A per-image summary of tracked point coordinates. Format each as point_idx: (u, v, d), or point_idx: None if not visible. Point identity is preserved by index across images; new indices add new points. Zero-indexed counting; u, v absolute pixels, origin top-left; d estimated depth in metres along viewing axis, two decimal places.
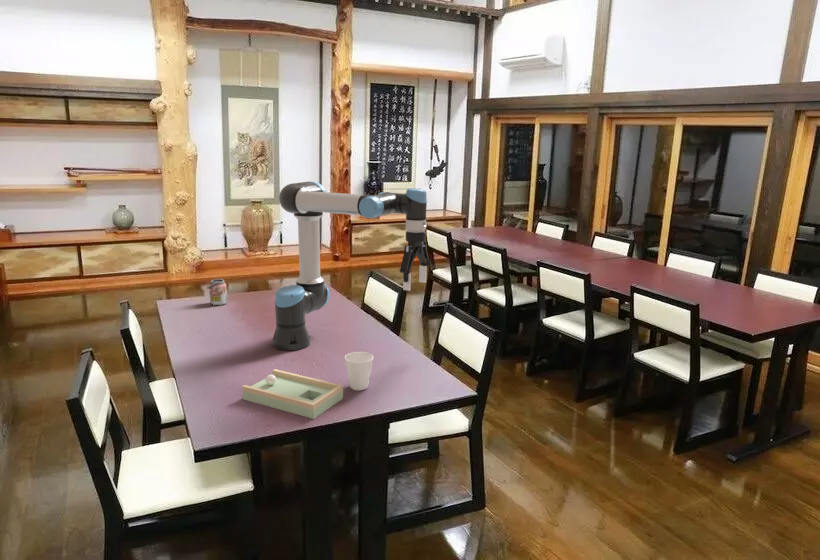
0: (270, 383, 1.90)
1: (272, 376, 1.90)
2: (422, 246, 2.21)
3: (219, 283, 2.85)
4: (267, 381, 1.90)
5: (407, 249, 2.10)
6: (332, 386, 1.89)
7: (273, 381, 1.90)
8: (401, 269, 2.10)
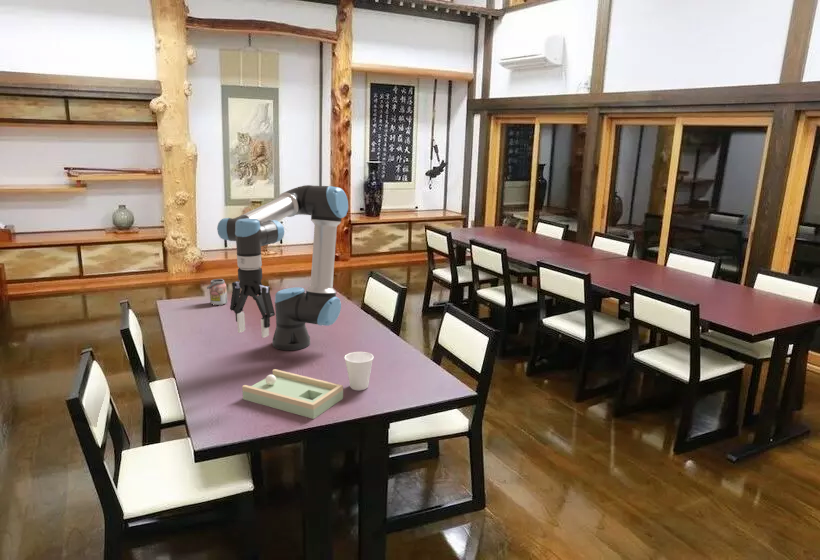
0: (270, 383, 1.90)
1: (272, 376, 1.90)
2: None
3: (219, 283, 2.85)
4: (267, 381, 1.90)
5: None
6: (332, 386, 1.89)
7: (273, 381, 1.90)
8: None
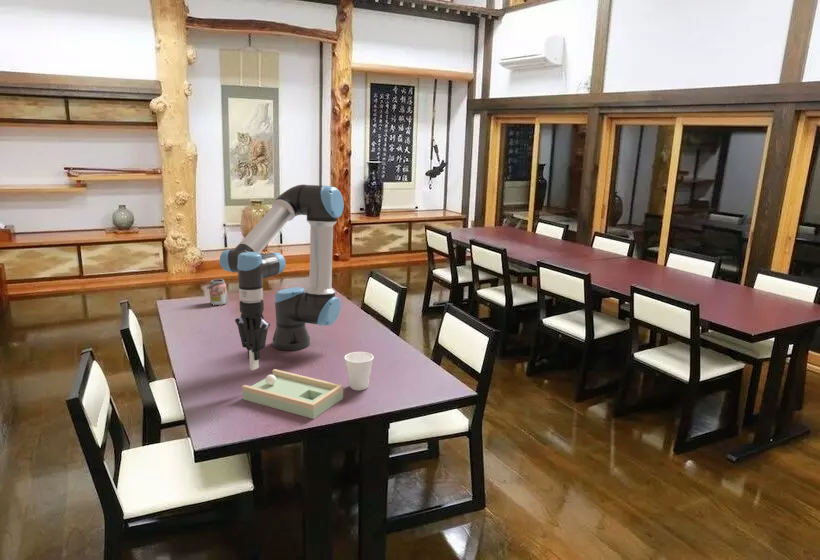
0: (270, 383, 1.90)
1: (272, 376, 1.90)
2: (261, 325, 1.87)
3: (219, 283, 2.85)
4: (267, 381, 1.90)
5: None
6: (332, 386, 1.89)
7: (273, 381, 1.90)
8: None
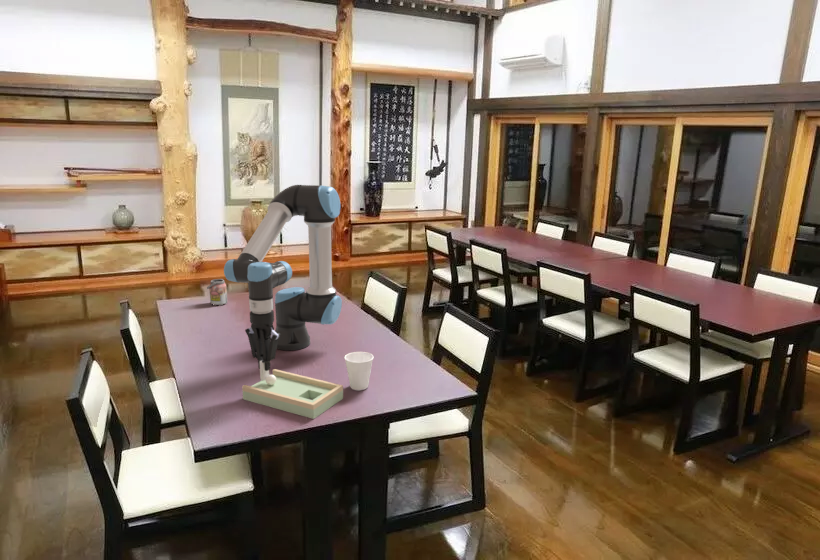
0: (270, 383, 1.90)
1: (272, 376, 1.90)
2: (271, 336, 1.86)
3: (219, 283, 2.85)
4: (267, 381, 1.90)
5: None
6: (332, 386, 1.89)
7: (273, 381, 1.90)
8: None
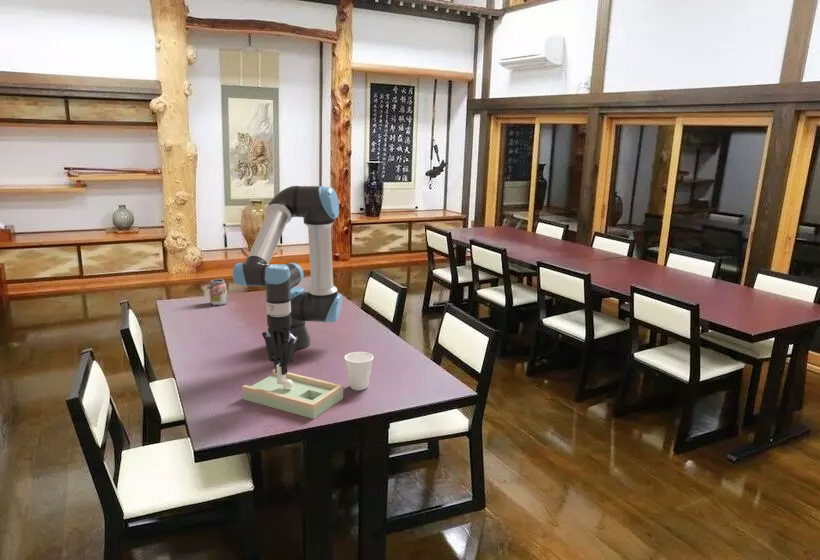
0: (284, 382, 1.86)
1: None
2: (288, 339, 1.83)
3: (219, 283, 2.85)
4: (284, 386, 1.86)
5: None
6: (332, 386, 1.89)
7: (284, 380, 1.87)
8: None
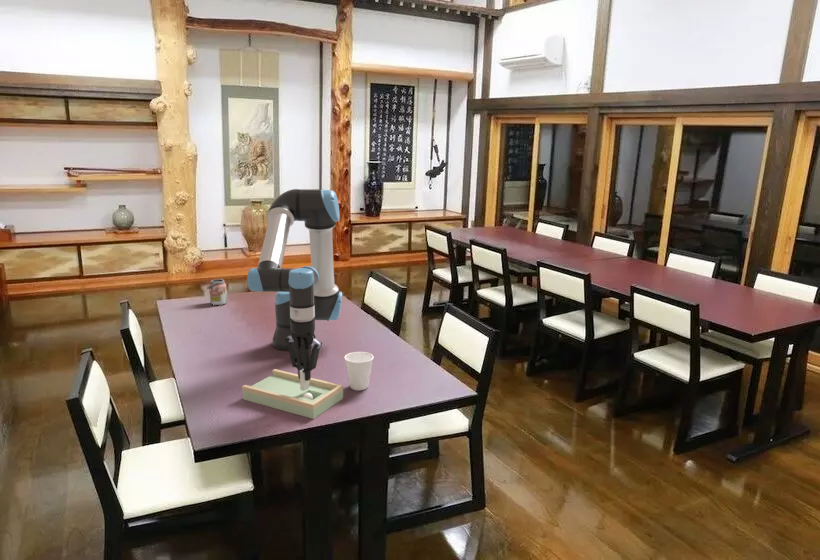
0: None
1: None
2: None
3: (219, 283, 2.85)
4: None
5: None
6: (332, 386, 1.89)
7: None
8: None
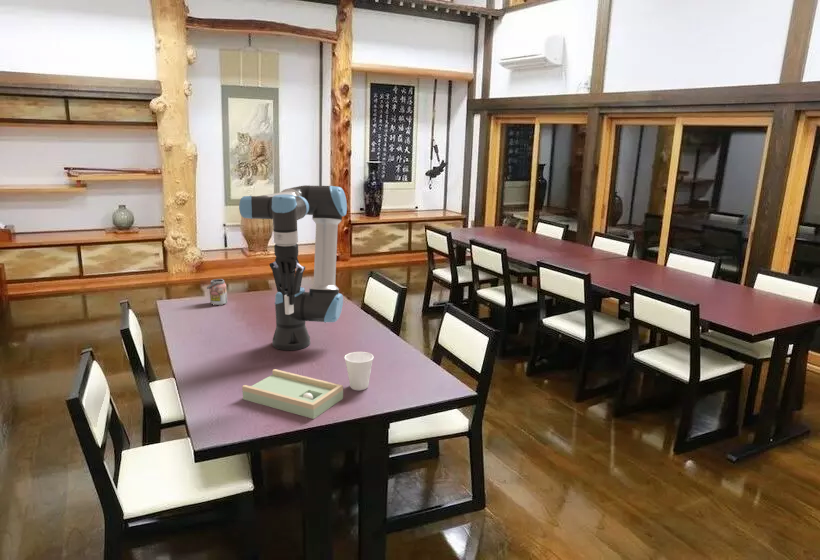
0: None
1: None
2: (296, 269, 1.85)
3: (219, 283, 2.85)
4: None
5: None
6: (332, 386, 1.89)
7: None
8: None
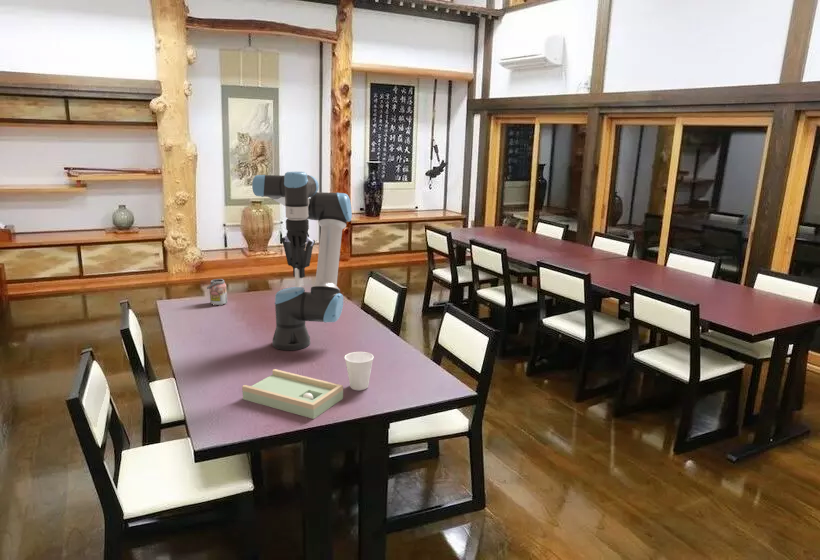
0: None
1: None
2: None
3: (219, 283, 2.85)
4: None
5: None
6: (332, 386, 1.89)
7: None
8: None
